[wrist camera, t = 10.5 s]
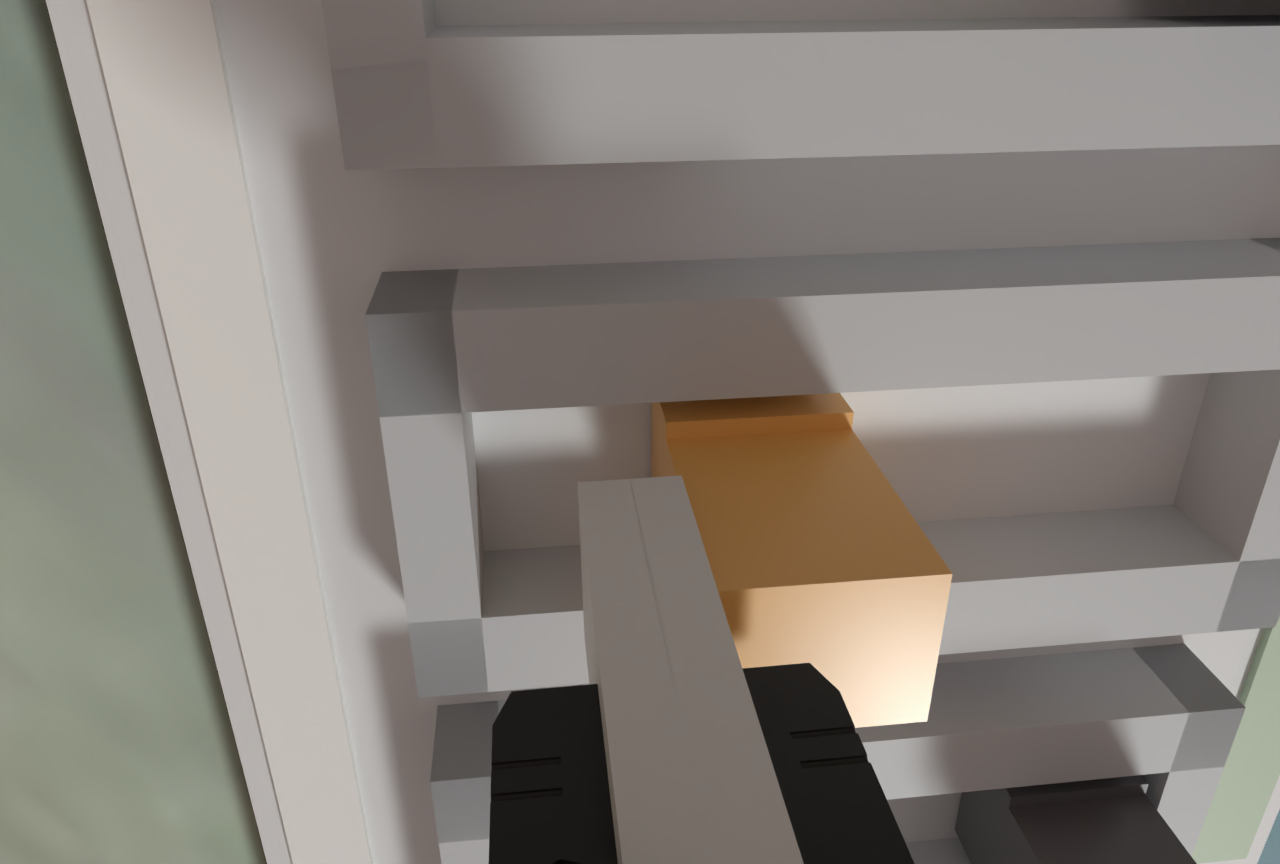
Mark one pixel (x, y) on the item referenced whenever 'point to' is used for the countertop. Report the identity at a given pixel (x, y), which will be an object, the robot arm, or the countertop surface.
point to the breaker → (1067, 825)
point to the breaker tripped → (810, 546)
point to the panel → (619, 436)
